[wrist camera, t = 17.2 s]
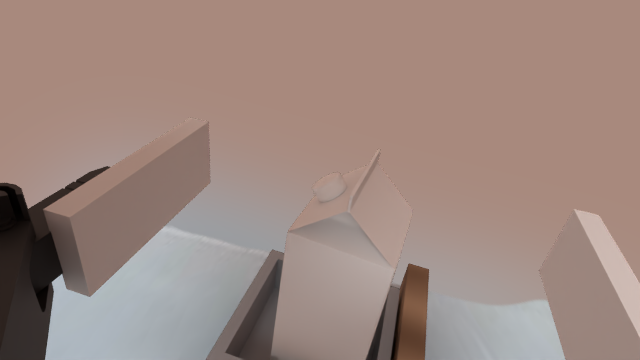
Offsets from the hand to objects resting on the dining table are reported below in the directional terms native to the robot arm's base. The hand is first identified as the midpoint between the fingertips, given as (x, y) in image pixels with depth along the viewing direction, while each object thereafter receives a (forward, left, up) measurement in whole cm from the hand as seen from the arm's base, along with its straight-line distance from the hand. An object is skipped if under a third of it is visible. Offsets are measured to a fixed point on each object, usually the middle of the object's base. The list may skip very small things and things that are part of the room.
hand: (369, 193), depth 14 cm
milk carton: (-5, -8, -23) cm, 25 cm away
